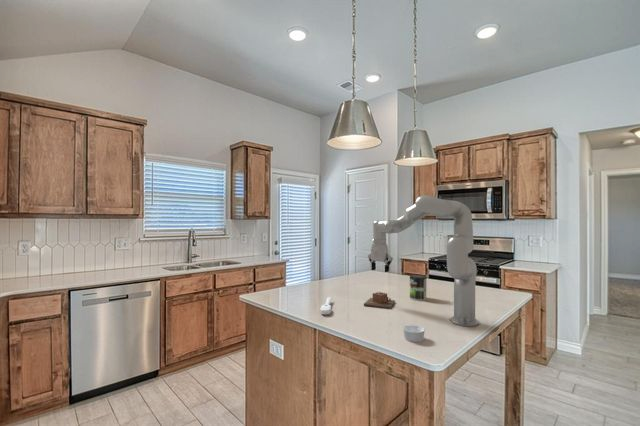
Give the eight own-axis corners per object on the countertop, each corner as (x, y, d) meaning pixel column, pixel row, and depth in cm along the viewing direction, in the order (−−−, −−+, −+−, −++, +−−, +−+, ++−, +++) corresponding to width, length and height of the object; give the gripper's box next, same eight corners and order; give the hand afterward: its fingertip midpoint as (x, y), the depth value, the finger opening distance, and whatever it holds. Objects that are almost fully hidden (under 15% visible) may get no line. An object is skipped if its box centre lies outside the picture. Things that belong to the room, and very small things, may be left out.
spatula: (324, 301, 193) (324, 296, 193) (334, 301, 193) (334, 297, 193) (319, 315, 165) (319, 309, 165) (330, 315, 165) (330, 310, 165)
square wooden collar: (380, 304, 183) (380, 295, 183) (372, 302, 188) (372, 293, 188) (391, 301, 190) (391, 292, 190) (383, 299, 194) (383, 290, 194)
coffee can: (417, 301, 194) (417, 278, 194) (406, 297, 203) (406, 275, 203) (430, 299, 198) (430, 276, 198) (418, 295, 208) (418, 273, 208)
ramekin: (415, 344, 129) (415, 333, 129) (398, 337, 136) (398, 327, 136) (429, 339, 134) (429, 329, 134) (411, 333, 141) (411, 323, 141)
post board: (390, 309, 177) (390, 297, 178) (363, 306, 183) (363, 294, 183) (395, 302, 191) (395, 291, 191) (370, 299, 197) (370, 288, 197)
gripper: (364, 241, 192) (364, 269, 191) (388, 242, 179) (388, 273, 178) (372, 240, 197) (372, 268, 196) (396, 242, 184) (396, 271, 183)
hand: (380, 270), depth 187 cm, fingers open, 9 cm apart
